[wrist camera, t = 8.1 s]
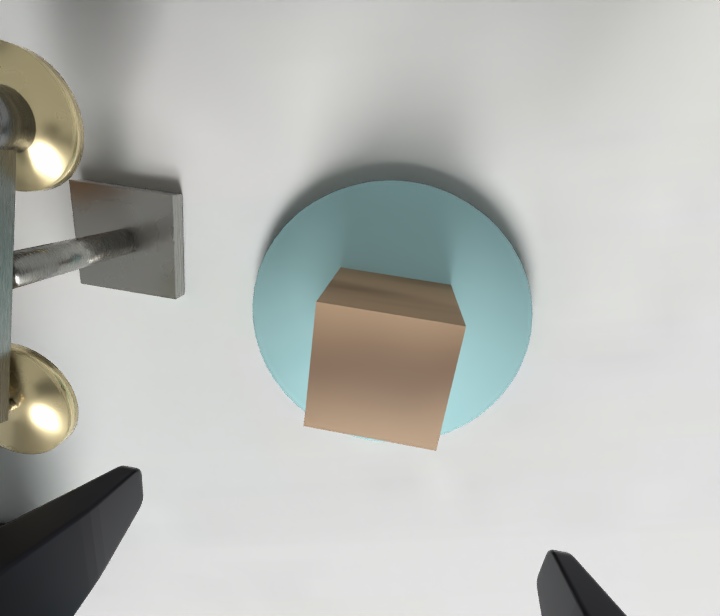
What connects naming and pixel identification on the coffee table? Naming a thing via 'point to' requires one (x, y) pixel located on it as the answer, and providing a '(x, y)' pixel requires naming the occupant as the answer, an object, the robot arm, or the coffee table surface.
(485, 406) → the teal dish
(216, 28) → the coffee table surface
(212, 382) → the coffee table surface
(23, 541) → the robot arm
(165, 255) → the balance
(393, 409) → the tan block
